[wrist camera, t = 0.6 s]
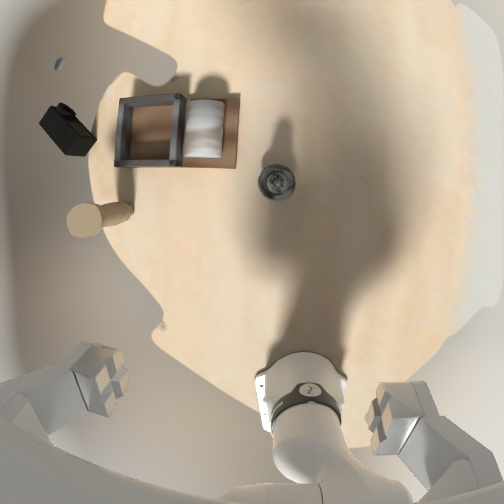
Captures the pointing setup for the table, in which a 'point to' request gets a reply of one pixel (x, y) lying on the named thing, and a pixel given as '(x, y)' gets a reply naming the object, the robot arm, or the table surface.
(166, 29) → the table surface
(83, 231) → the handle
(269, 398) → the robot arm
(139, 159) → the base
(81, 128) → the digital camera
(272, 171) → the dark grey chess piece
